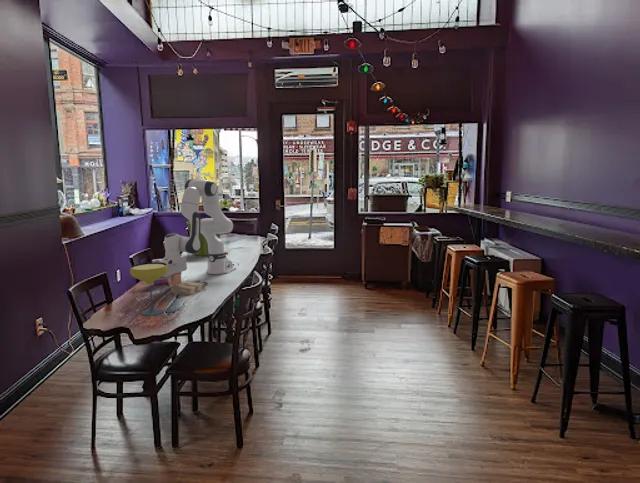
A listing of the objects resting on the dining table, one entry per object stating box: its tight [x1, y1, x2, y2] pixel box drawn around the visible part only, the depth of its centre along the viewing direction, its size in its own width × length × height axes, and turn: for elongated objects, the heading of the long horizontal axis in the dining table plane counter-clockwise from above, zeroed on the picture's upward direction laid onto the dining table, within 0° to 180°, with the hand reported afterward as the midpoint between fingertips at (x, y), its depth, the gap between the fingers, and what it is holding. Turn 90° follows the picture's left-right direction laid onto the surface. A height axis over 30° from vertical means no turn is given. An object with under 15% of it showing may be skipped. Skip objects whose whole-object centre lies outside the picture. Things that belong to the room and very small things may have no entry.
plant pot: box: [186, 220, 221, 257], centre depth 390 cm, size 30×30×29 cm
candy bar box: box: [151, 258, 169, 286], centre depth 293 cm, size 11×5×16 cm, turn 105°
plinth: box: [170, 280, 206, 297], centre depth 275 cm, size 14×14×4 cm
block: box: [168, 273, 182, 287], centre depth 284 cm, size 6×6×7 cm
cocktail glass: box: [129, 261, 167, 317], centre depth 234 cm, size 18×18×25 cm
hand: (174, 280), depth 284 cm, fingers closed on block, 5 cm apart
